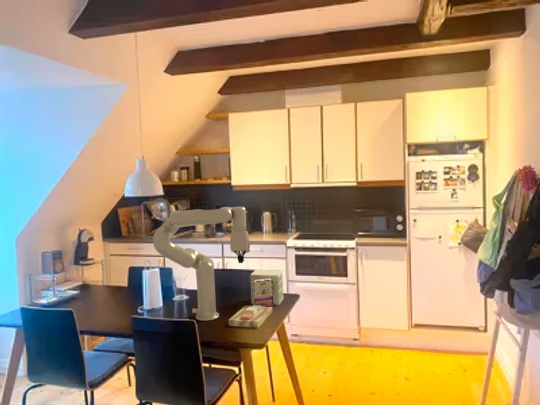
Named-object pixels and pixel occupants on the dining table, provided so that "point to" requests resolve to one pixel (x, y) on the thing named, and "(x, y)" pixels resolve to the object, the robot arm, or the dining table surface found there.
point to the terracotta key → (246, 316)
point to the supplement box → (276, 283)
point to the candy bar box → (262, 292)
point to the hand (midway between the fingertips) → (241, 262)
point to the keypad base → (254, 322)
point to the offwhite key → (251, 310)
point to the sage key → (257, 307)
